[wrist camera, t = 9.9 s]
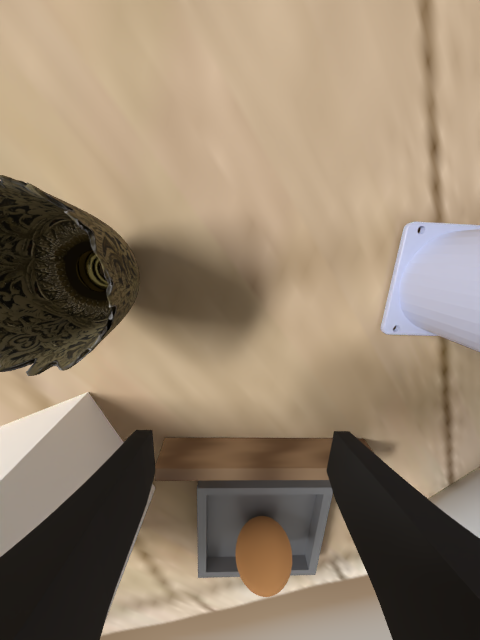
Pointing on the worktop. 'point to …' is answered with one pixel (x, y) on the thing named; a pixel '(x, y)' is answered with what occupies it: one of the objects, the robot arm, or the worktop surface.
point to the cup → (57, 280)
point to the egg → (263, 556)
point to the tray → (260, 500)
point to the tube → (462, 501)
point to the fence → (243, 459)
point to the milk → (51, 464)
